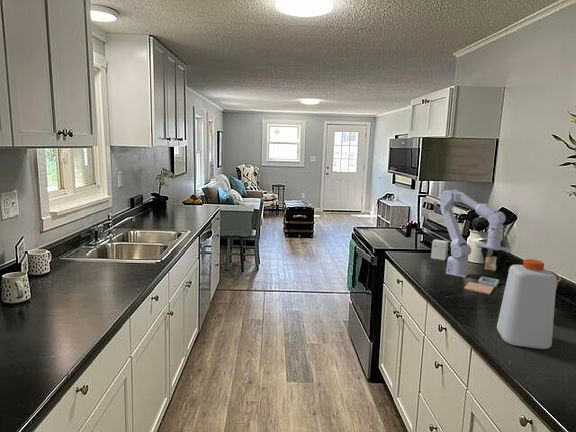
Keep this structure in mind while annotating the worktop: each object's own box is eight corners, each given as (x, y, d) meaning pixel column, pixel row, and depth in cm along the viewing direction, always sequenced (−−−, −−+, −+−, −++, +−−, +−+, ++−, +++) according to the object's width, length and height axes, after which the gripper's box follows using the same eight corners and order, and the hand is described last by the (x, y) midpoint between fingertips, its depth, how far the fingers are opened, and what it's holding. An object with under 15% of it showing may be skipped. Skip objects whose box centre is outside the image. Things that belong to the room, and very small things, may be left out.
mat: (463, 288, 194) (464, 287, 194) (469, 282, 203) (469, 281, 203) (489, 294, 188) (489, 293, 188) (494, 288, 197) (494, 286, 196)
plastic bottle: (538, 332, 151) (550, 257, 146) (555, 352, 136) (568, 270, 131) (493, 326, 154) (503, 253, 149) (504, 345, 140) (516, 265, 135)
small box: (446, 258, 245) (448, 241, 244) (444, 260, 241) (446, 242, 239) (432, 256, 250) (434, 239, 248) (430, 258, 245) (432, 240, 243)
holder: (478, 283, 203) (478, 280, 203) (481, 279, 209) (481, 276, 209) (496, 286, 198) (496, 283, 198) (498, 282, 205) (499, 279, 204)
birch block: (484, 268, 202) (485, 257, 201) (486, 266, 206) (487, 255, 205) (494, 270, 199) (496, 258, 198) (496, 268, 203) (497, 256, 202)
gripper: (512, 238, 199) (508, 265, 201) (479, 233, 207) (476, 259, 209) (510, 240, 193) (506, 268, 196) (476, 235, 201) (473, 262, 204)
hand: (490, 264), depth 202 cm, fingers closed on birch block, 4 cm apart
